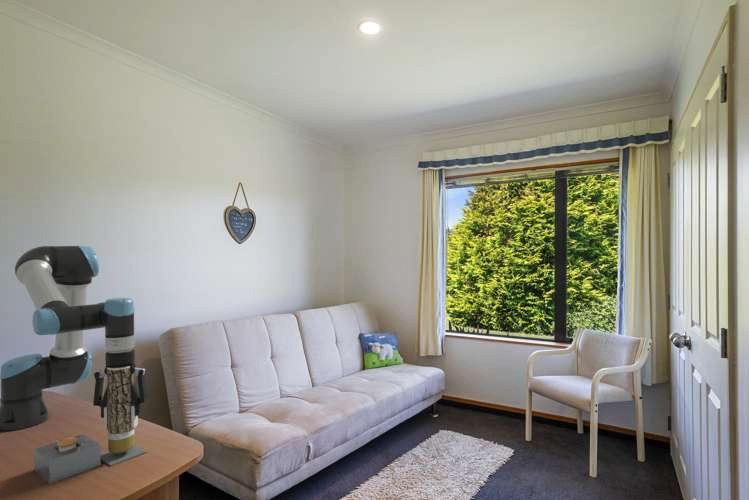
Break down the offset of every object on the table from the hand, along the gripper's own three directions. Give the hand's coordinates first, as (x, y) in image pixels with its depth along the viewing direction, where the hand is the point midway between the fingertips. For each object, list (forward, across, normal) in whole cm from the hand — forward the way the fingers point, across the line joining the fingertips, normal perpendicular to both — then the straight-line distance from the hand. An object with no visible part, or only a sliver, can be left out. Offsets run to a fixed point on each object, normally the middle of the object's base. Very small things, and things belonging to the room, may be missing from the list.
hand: (121, 427), depth 129 cm
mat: (+8, 0, 0) cm, 8 cm away
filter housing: (+8, -12, -6) cm, 16 cm away
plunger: (+7, -12, -6) cm, 15 cm away
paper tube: (+7, 0, 0) cm, 7 cm away
